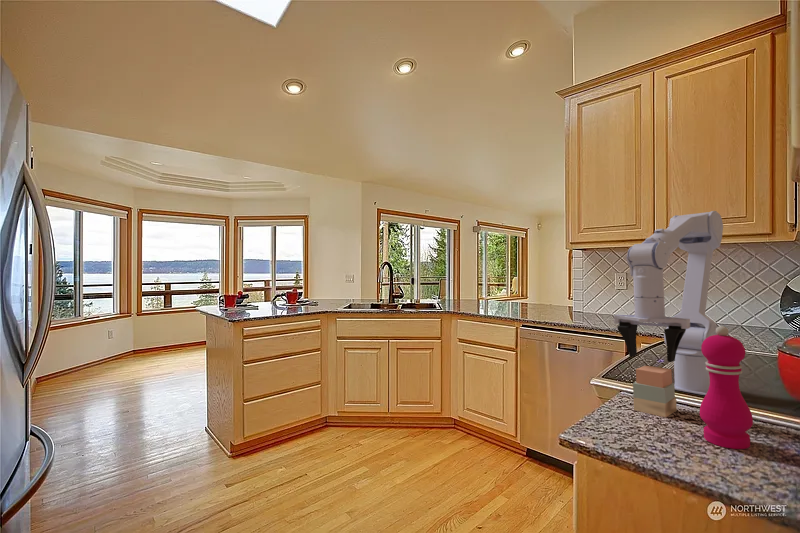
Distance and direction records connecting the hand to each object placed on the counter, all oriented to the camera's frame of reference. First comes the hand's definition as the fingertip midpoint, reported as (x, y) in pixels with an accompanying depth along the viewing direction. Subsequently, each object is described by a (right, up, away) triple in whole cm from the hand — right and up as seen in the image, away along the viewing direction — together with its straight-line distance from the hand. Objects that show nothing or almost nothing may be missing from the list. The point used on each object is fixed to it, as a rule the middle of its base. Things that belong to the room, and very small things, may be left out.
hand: (651, 358), depth 89 cm
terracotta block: (-1, -5, -3) cm, 6 cm away
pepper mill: (+1, -10, -19) cm, 22 cm away
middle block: (-1, -8, -3) cm, 8 cm away
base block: (-1, -11, -3) cm, 11 cm away
